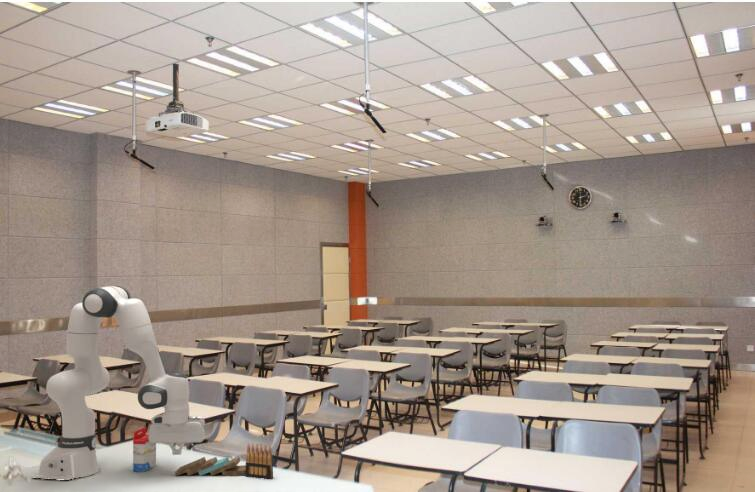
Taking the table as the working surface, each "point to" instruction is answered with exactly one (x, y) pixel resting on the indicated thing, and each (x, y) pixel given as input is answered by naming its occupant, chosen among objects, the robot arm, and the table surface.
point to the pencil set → (259, 462)
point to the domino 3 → (215, 466)
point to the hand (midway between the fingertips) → (176, 454)
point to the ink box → (143, 451)
